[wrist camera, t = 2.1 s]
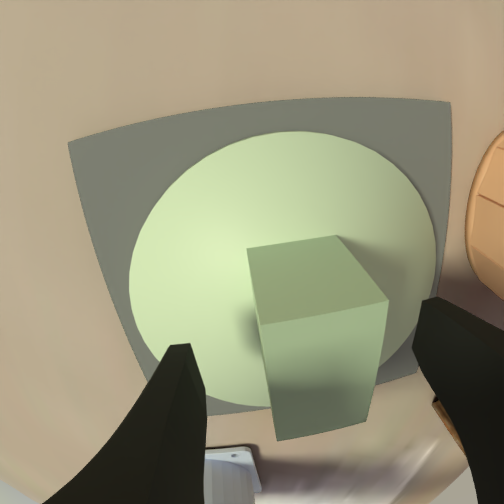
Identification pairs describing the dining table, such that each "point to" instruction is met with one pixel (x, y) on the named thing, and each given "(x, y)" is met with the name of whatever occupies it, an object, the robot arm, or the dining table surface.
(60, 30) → the dining table surface
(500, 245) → the bowl
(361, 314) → the lid
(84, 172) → the mat
